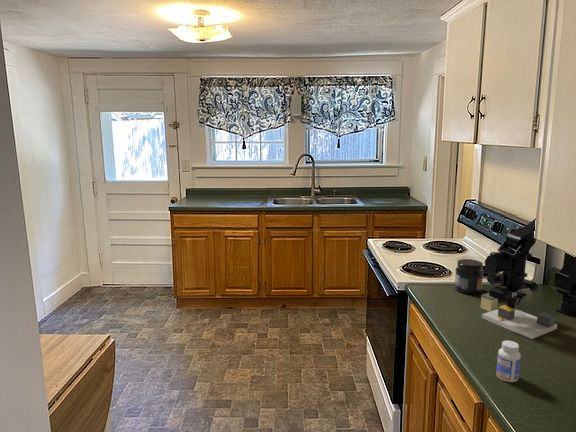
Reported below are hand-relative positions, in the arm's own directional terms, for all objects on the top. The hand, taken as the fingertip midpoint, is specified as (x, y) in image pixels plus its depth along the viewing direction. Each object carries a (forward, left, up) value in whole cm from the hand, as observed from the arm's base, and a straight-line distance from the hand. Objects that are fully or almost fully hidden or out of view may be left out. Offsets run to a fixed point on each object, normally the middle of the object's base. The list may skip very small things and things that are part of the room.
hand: (511, 312), depth 151 cm
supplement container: (-11, -26, -3) cm, 28 cm away
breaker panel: (0, +3, -3) cm, 4 cm away
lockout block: (-2, -10, -3) cm, 11 cm away
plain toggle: (-3, +10, -1) cm, 11 cm away
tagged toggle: (+3, 0, -1) cm, 3 cm away
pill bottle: (+34, +21, -3) cm, 40 cm away
